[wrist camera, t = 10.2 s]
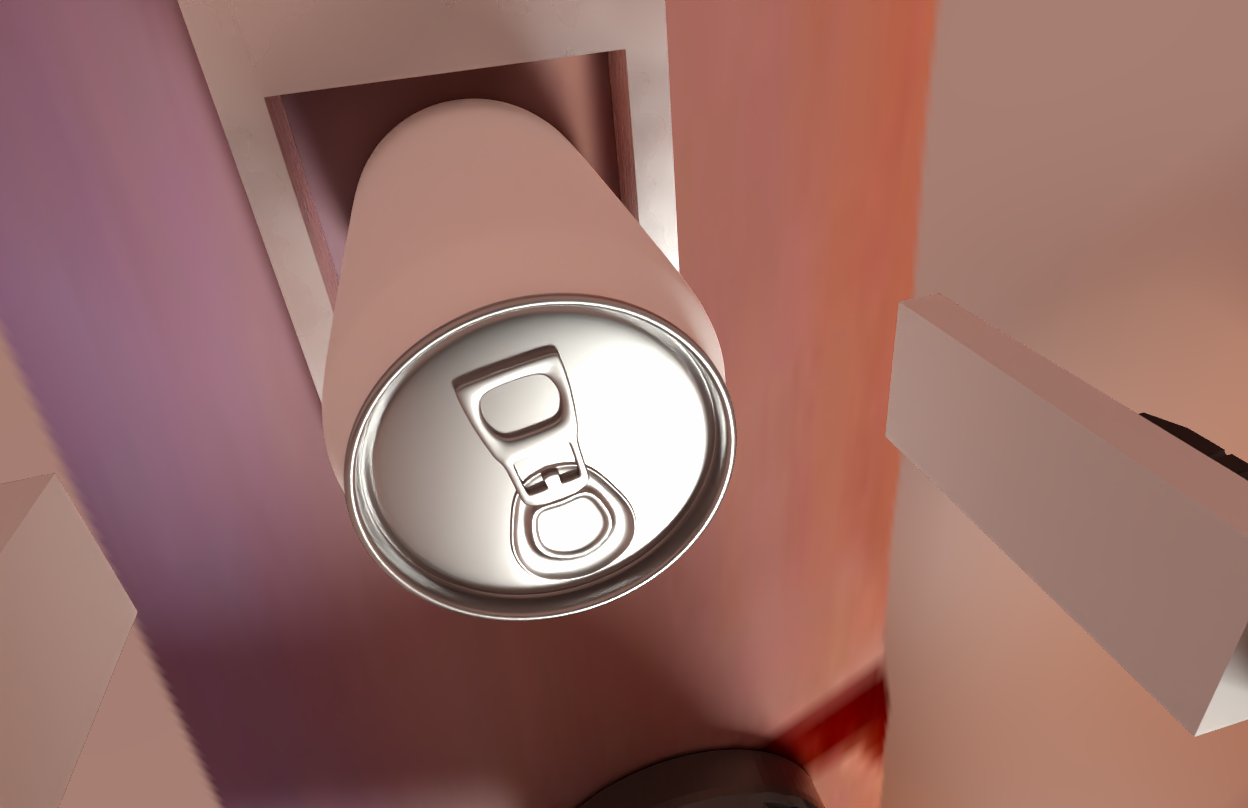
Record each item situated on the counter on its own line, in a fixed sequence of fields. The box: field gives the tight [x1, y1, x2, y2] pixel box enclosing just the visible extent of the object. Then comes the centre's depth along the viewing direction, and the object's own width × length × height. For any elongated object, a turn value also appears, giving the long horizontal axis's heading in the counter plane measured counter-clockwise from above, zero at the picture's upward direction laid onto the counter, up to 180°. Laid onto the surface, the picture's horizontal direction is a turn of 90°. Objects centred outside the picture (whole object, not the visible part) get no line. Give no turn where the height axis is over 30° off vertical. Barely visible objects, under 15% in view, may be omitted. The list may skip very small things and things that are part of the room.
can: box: [322, 99, 737, 621], centre depth 16 cm, size 6×6×12 cm
